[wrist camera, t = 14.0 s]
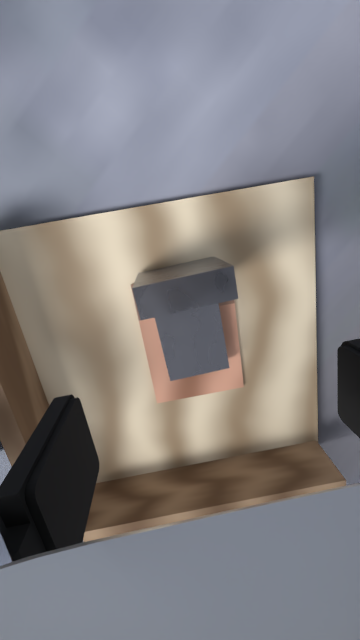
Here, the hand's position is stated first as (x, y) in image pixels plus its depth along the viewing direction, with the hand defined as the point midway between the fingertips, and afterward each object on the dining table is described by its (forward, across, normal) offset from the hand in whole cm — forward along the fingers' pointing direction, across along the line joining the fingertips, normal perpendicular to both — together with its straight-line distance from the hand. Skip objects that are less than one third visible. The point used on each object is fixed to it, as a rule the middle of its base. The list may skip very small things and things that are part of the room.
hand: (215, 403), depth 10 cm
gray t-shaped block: (+14, 0, +1) cm, 14 cm away
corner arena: (+15, +2, +5) cm, 16 cm away
